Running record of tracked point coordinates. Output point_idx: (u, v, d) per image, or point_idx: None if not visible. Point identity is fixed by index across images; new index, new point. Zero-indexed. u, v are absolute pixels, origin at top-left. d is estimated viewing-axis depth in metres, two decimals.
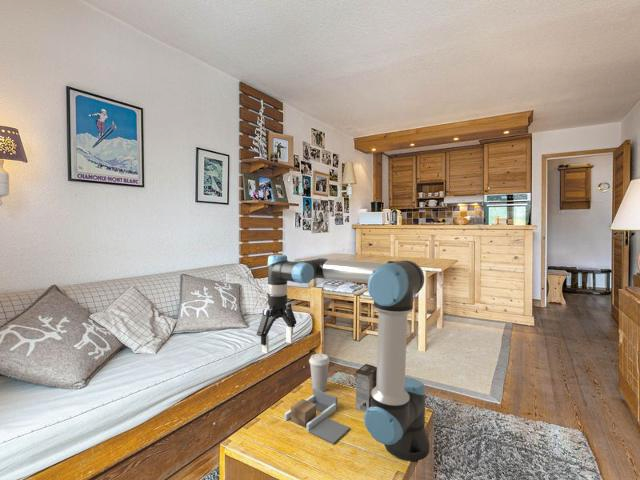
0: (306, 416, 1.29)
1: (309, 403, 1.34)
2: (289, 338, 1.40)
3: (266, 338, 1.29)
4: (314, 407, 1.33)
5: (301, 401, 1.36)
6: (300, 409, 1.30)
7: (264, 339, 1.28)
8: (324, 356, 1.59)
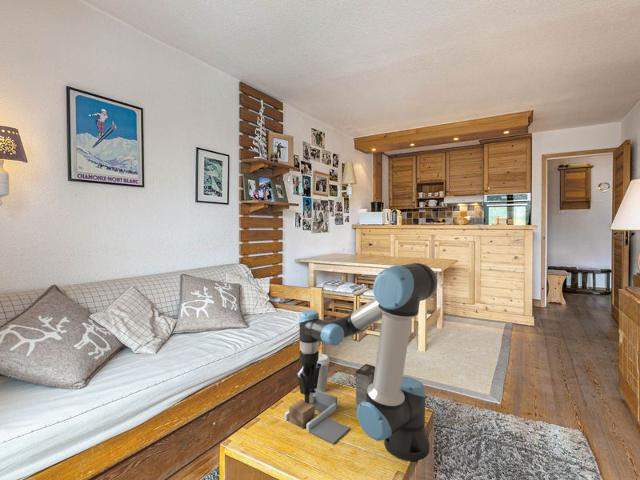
0: (304, 416, 1.28)
1: (307, 404, 1.34)
2: None
3: (309, 396, 1.34)
4: (312, 408, 1.32)
5: (300, 401, 1.35)
6: (298, 409, 1.30)
7: (307, 397, 1.34)
8: (324, 356, 1.59)
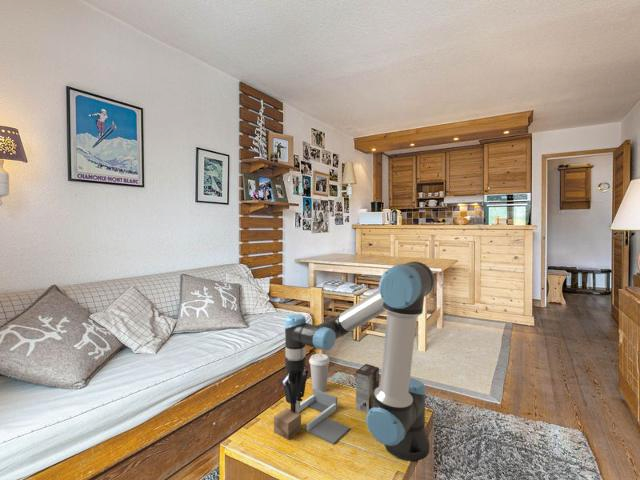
0: (289, 427, 1.22)
1: (293, 413, 1.27)
2: None
3: (296, 404, 1.28)
4: (298, 417, 1.25)
5: (285, 410, 1.29)
6: (284, 419, 1.23)
7: (294, 406, 1.27)
8: (324, 356, 1.59)
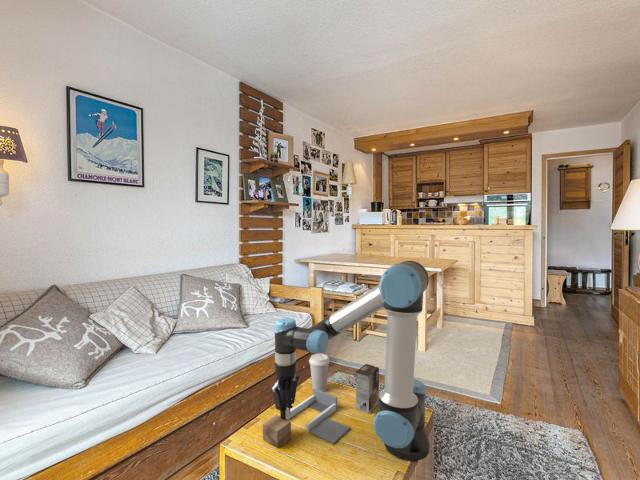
0: (278, 435, 1.17)
1: (283, 420, 1.23)
2: None
3: (286, 411, 1.23)
4: (288, 424, 1.21)
5: (275, 417, 1.24)
6: (273, 426, 1.19)
7: (284, 413, 1.23)
8: (324, 356, 1.59)
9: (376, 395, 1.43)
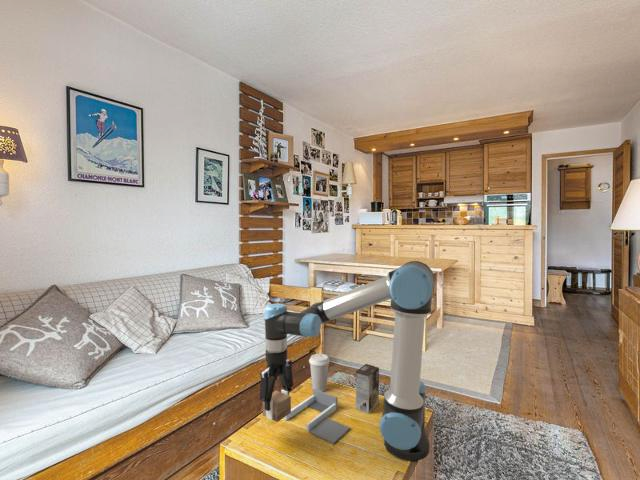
0: (278, 408, 1.16)
1: (283, 395, 1.22)
2: None
3: (270, 403, 1.16)
4: (288, 399, 1.20)
5: (274, 393, 1.23)
6: None
7: (268, 404, 1.16)
8: (324, 356, 1.59)
9: (376, 395, 1.43)
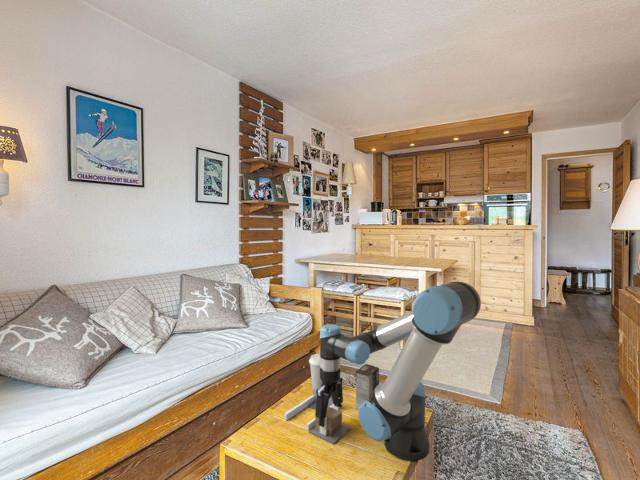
0: (332, 424, 1.22)
1: (334, 410, 1.28)
2: None
3: (325, 419, 1.22)
4: (340, 415, 1.26)
5: None
6: (326, 416, 1.24)
7: (323, 420, 1.22)
8: None
9: None
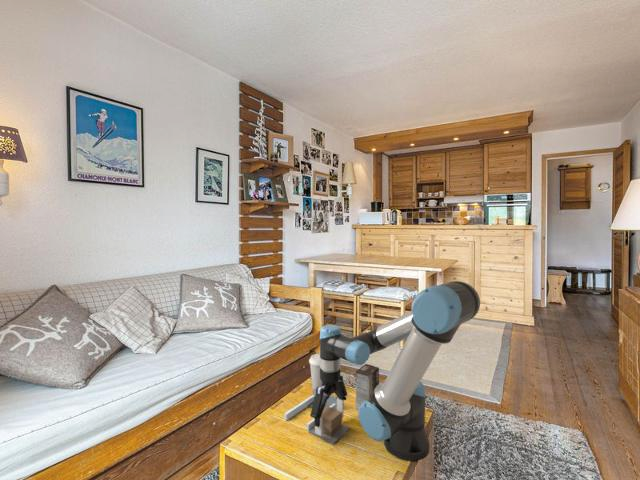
0: (332, 424, 1.22)
1: (334, 410, 1.28)
2: None
3: (320, 419, 1.20)
4: (340, 415, 1.26)
5: (325, 408, 1.29)
6: (326, 416, 1.24)
7: (318, 420, 1.19)
8: None
9: None
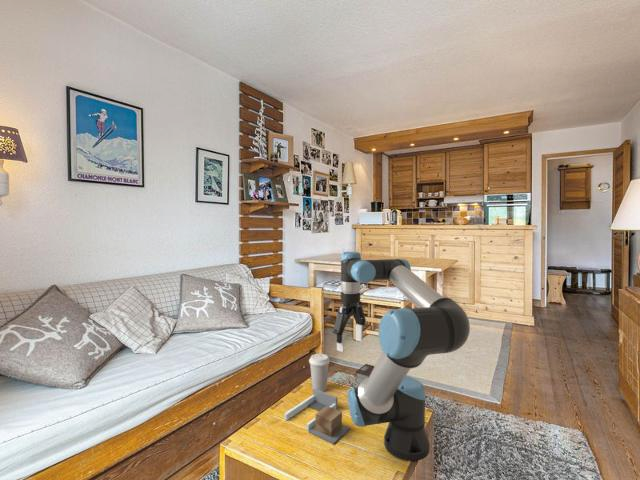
0: (332, 424, 1.22)
1: (334, 410, 1.28)
2: (359, 336, 1.39)
3: (342, 336, 1.27)
4: (340, 415, 1.26)
5: (325, 408, 1.29)
6: (326, 416, 1.24)
7: (340, 337, 1.27)
8: (324, 356, 1.59)
9: None
